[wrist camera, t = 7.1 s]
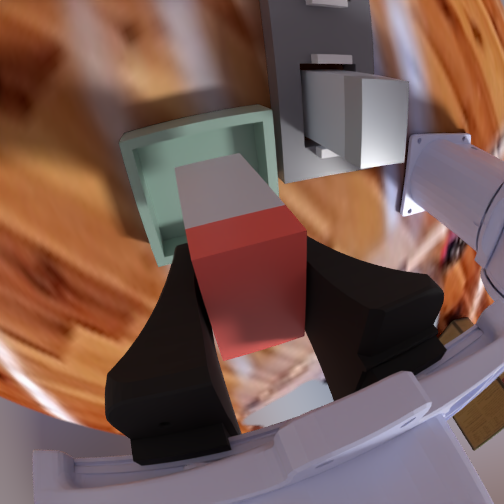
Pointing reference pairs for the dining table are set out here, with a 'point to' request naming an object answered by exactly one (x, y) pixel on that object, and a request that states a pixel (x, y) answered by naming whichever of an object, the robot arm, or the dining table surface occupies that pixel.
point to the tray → (187, 152)
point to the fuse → (356, 115)
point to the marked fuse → (244, 255)
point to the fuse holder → (310, 51)
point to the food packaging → (478, 400)
